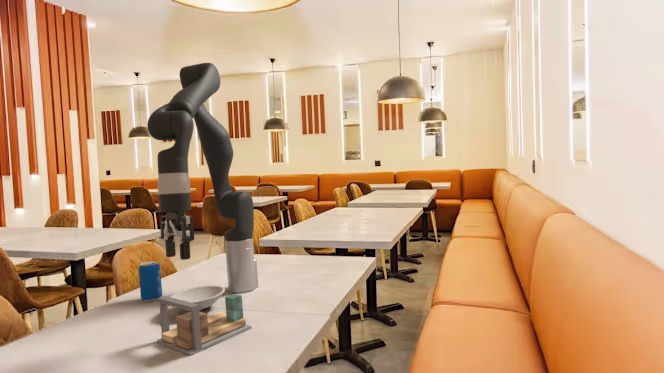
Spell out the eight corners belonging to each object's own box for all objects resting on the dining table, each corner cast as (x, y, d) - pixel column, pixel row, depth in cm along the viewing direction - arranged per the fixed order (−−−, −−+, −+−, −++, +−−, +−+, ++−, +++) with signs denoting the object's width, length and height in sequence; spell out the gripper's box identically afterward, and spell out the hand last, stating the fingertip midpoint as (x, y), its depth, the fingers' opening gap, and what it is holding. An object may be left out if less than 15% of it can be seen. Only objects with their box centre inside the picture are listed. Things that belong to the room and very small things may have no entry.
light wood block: (220, 316, 118) (220, 311, 118) (231, 319, 116) (231, 314, 115) (198, 325, 113) (198, 319, 113) (209, 328, 110) (209, 322, 110)
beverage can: (154, 302, 138) (151, 265, 137) (136, 302, 139) (133, 265, 138) (166, 296, 144) (163, 260, 143) (149, 296, 145) (146, 260, 145)
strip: (234, 321, 114) (232, 293, 114) (245, 324, 111) (243, 295, 111) (176, 345, 101) (174, 313, 100) (188, 349, 98) (185, 316, 97)
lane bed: (217, 318, 119) (214, 281, 119) (251, 328, 111) (248, 287, 110) (156, 342, 105) (153, 299, 104) (190, 355, 97) (187, 308, 96)
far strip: (192, 327, 111) (191, 322, 111) (203, 331, 108) (202, 325, 108) (161, 339, 104) (161, 333, 104) (172, 343, 102) (172, 337, 102)
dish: (197, 323, 117) (195, 305, 116) (157, 318, 123) (156, 301, 122) (237, 302, 133) (235, 286, 132) (200, 299, 139) (199, 283, 138)
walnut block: (195, 330, 105) (194, 310, 105) (208, 334, 102) (207, 313, 102) (177, 337, 101) (176, 316, 101) (190, 342, 98) (188, 320, 98)
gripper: (202, 190, 104) (205, 258, 104) (177, 192, 114) (180, 253, 114) (171, 191, 99) (174, 262, 99) (148, 193, 109) (151, 258, 109)
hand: (177, 258), depth 106 cm, fingers open, 8 cm apart
